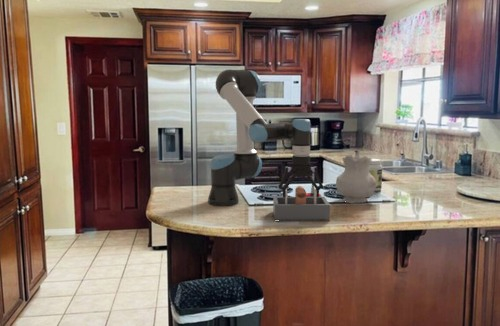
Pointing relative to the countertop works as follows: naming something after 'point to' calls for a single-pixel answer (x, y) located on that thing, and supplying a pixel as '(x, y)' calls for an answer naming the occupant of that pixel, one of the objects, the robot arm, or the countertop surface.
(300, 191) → the wooden peg
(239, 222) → the countertop surface
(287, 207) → the open box
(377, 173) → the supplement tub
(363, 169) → the ceramic pitcher
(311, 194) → the tow hook
